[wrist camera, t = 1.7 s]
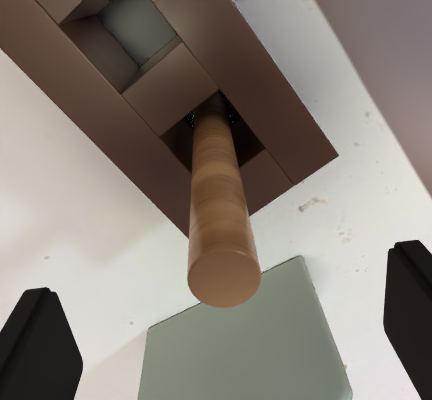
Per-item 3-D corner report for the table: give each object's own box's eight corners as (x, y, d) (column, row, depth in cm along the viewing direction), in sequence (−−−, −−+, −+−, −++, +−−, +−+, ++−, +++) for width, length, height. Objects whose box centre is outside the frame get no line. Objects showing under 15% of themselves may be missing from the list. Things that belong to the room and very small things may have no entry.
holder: (146, -114, 24) (123, -156, 17) (306, 116, 31) (339, 155, 23) (28, 6, 27) (-35, 14, 19) (199, 194, 33) (200, 250, 26)
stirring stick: (192, 92, 29) (181, 254, 12) (223, 88, 29) (258, 245, 12) (196, 122, 30) (193, 313, 13) (226, 118, 30) (264, 304, 13)
